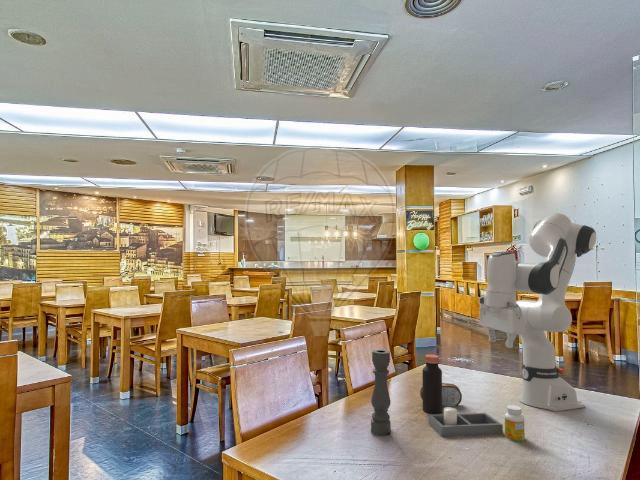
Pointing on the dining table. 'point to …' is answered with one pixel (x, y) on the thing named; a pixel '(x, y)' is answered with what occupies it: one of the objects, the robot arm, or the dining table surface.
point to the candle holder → (380, 394)
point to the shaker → (450, 416)
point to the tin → (448, 395)
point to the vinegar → (432, 385)
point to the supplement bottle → (514, 423)
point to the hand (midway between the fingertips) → (500, 344)
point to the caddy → (466, 424)
